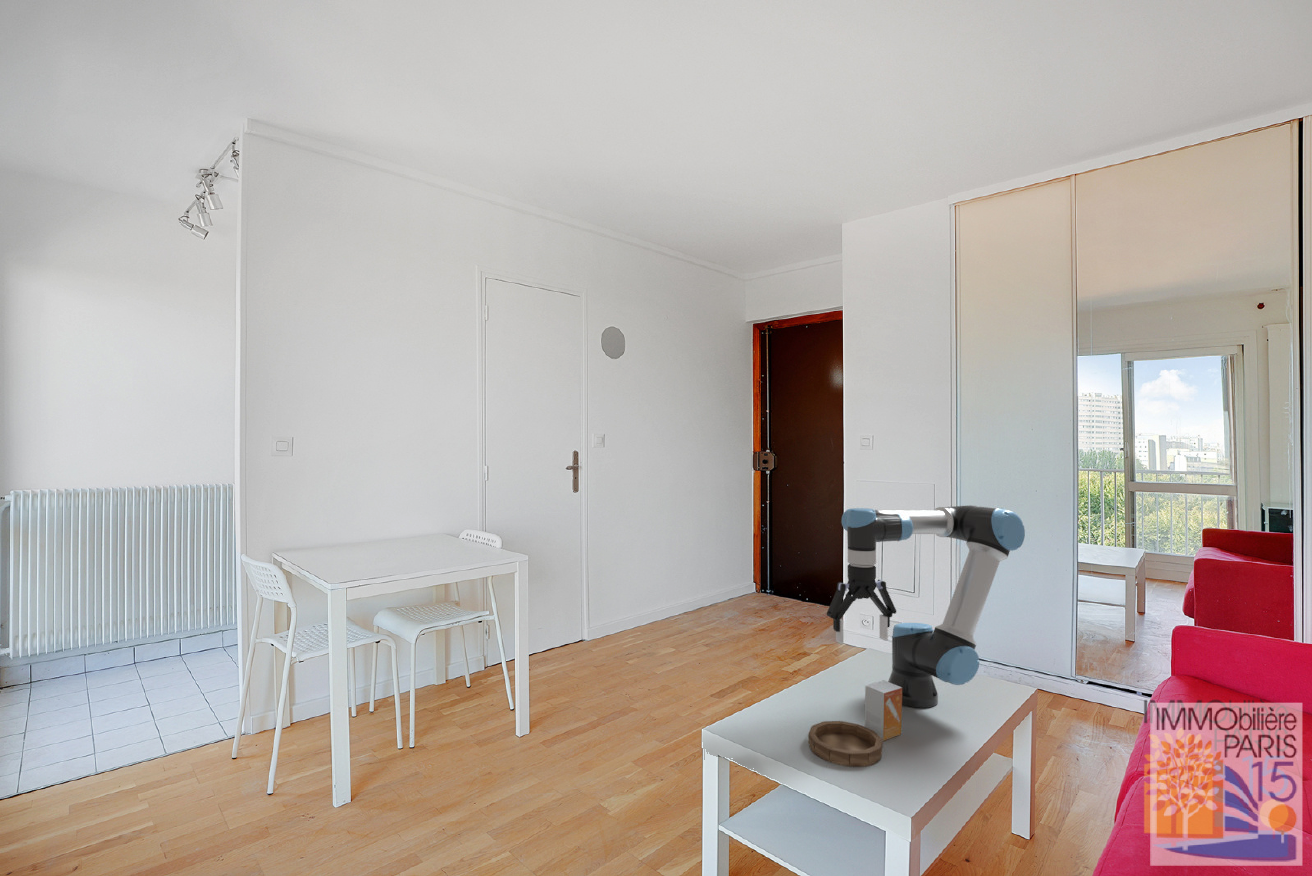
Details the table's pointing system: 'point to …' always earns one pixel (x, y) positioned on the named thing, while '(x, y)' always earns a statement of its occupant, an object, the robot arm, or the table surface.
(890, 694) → the small box
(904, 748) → the table surface
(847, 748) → the walnut bowl
